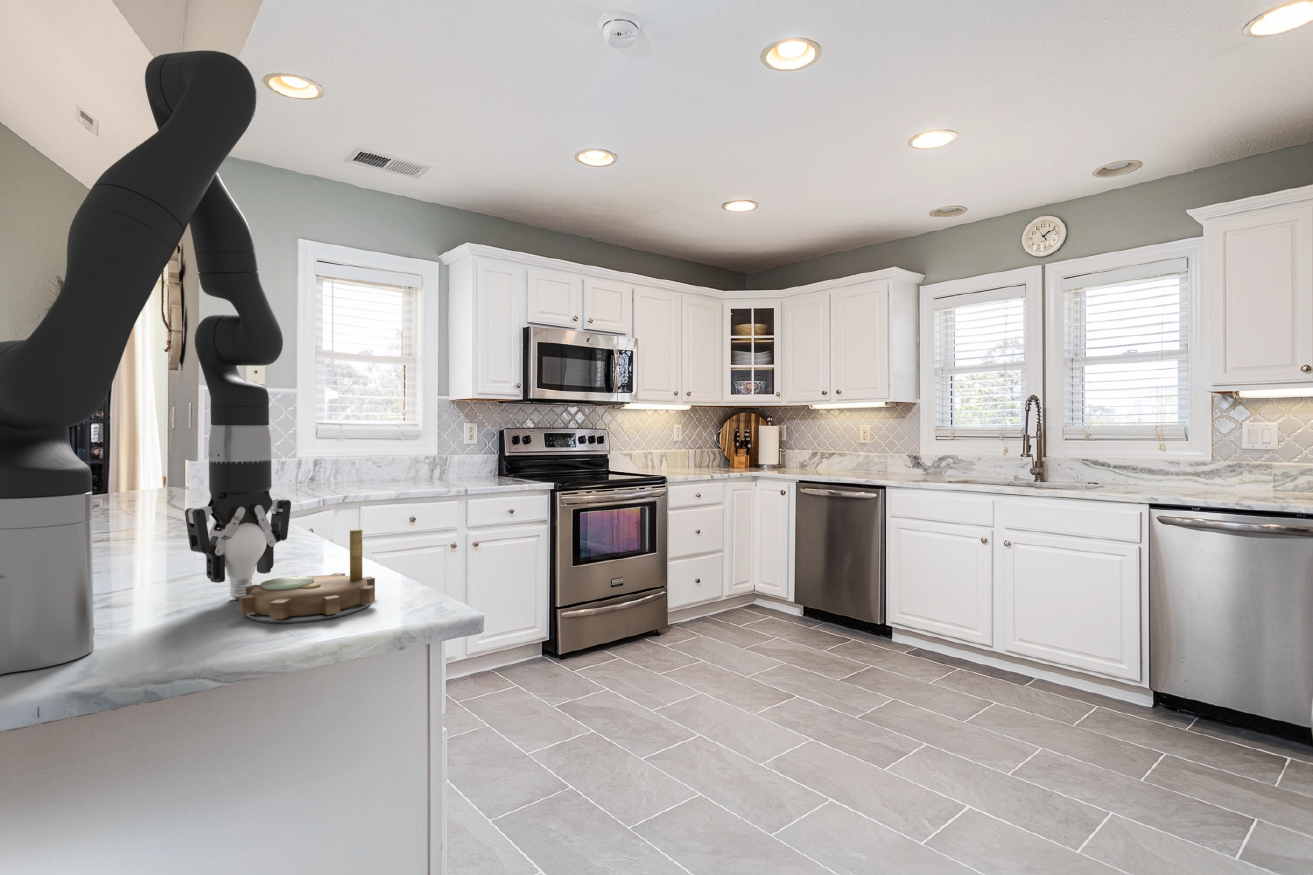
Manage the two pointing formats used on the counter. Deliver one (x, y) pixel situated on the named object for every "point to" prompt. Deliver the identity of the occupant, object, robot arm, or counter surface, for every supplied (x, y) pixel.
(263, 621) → the plate
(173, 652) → the counter surface
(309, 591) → the sprocket
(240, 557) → the lightbulb
